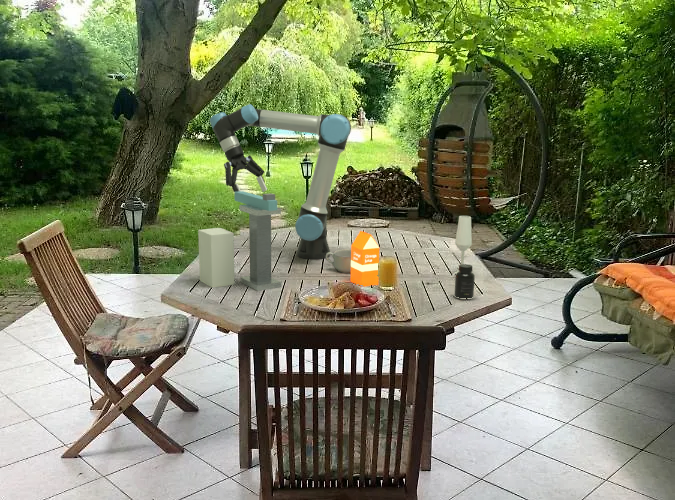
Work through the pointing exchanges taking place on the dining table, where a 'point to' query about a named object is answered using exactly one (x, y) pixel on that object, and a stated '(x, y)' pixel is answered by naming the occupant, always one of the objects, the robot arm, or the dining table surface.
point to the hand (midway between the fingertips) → (253, 194)
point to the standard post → (260, 248)
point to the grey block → (216, 257)
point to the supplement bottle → (464, 282)
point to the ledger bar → (257, 200)
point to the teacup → (341, 260)
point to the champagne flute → (463, 235)
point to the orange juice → (364, 260)
